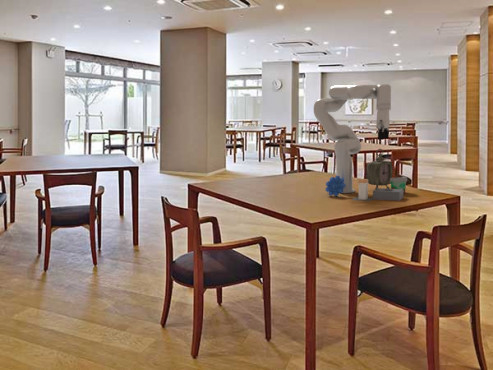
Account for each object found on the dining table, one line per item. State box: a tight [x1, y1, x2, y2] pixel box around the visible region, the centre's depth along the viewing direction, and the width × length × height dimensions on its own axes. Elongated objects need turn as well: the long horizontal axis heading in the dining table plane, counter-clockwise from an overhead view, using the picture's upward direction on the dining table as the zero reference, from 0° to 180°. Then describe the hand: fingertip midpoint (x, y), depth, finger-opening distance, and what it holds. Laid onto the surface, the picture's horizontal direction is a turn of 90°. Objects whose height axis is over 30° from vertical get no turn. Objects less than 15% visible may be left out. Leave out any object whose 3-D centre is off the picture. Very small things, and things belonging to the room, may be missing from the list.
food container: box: [390, 175, 408, 195], centre depth 279 cm, size 12×6×10 cm, turn 130°
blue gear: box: [325, 176, 346, 197], centre depth 280 cm, size 12×7×12 cm, turn 68°
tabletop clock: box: [366, 148, 394, 190], centre depth 294 cm, size 14×9×25 cm, turn 129°
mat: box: [351, 196, 374, 202], centre depth 266 cm, size 10×10×1 cm
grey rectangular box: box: [372, 187, 404, 202], centre depth 265 cm, size 14×10×5 cm
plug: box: [357, 178, 369, 200], centre depth 265 cm, size 4×4×10 cm
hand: (383, 139), depth 269 cm, fingers open, 9 cm apart
